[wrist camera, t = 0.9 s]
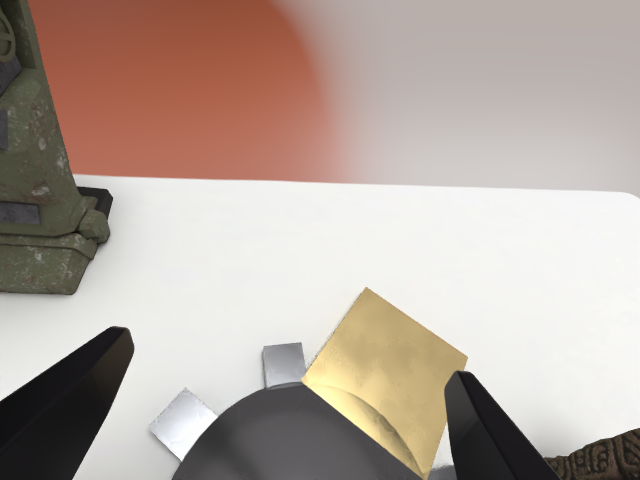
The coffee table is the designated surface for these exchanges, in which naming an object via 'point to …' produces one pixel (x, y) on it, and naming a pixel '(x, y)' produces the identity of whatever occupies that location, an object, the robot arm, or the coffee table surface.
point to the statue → (602, 460)
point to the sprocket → (328, 409)
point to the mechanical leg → (39, 175)
